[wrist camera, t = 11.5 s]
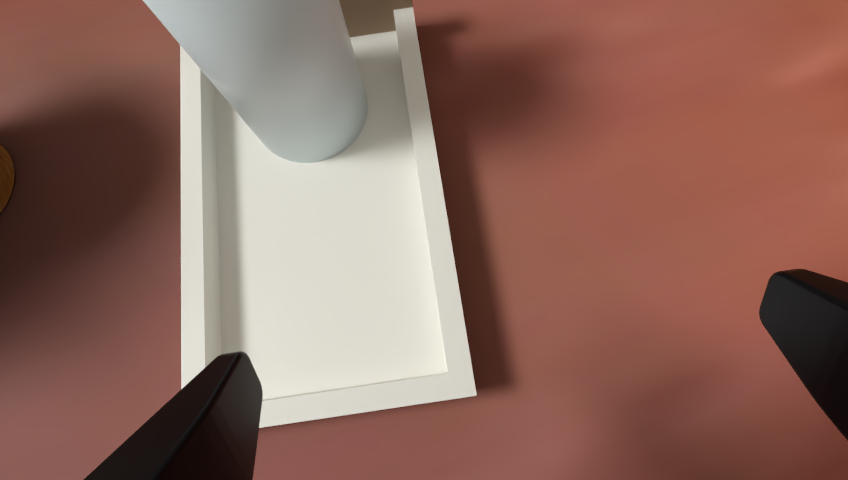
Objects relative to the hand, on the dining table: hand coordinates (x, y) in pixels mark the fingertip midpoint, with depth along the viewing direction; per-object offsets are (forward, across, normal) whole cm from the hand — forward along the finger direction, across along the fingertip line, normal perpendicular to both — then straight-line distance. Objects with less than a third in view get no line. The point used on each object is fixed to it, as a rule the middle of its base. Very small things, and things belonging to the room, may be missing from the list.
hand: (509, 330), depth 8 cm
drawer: (+15, +6, +4) cm, 17 cm away
